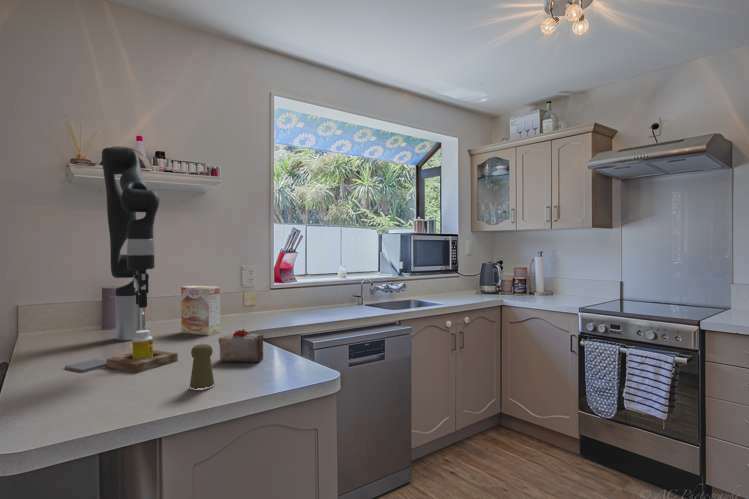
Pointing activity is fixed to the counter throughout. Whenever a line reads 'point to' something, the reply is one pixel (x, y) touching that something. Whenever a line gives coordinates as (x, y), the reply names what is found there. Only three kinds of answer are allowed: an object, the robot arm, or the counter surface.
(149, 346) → the supplement bottle
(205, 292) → the coffeecake box
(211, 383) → the cork
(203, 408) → the counter surface
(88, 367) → the coaster
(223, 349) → the food item
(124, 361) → the board
